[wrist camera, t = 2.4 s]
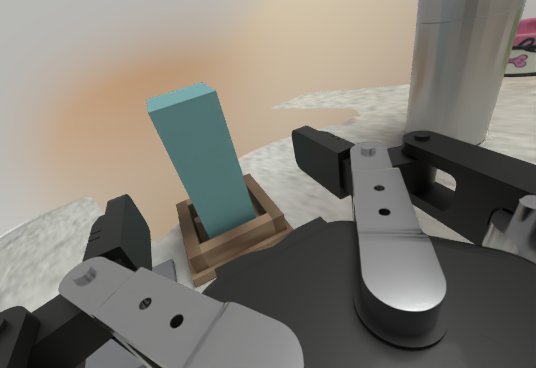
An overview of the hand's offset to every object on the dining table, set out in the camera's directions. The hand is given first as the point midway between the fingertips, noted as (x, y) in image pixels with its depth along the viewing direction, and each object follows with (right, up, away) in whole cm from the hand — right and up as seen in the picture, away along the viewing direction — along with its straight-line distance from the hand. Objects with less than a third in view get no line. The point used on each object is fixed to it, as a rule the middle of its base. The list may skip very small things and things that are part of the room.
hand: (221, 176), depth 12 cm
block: (-2, -5, +16) cm, 17 cm away
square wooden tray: (-2, -5, +16) cm, 17 cm away
